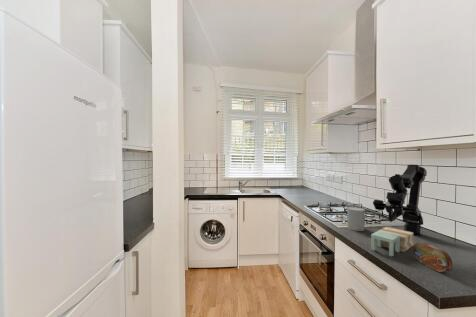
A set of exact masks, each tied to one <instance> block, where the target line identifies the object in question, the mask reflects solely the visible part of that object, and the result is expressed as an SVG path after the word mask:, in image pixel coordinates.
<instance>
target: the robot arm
mask: <svg viewBox="0 0 476 317" xmlns="http://www.w3.org/2000/svg"><path fill="white" fill-rule="evenodd" d="M427 174H428V172H427V169H426V168H425V167H422V166H420V165H419V164H408V165H407V167H406V169H405V170H404V172H403V173H402V174H400V173H395V174H394V175H392V176H390V177H389V178H388V183H389V184H390V187H391V189H392V190H393V191H392V192H390V191H387V193H386V198H385V199H387V202H385V203H384V200H381V199H373V202H372V204H373V207H374V209H375V210H378V211H384V210H385V211H386V212H387V214H388V221H389V222H390V223H392V222H393V221H395V220H396V219H398V218H399V217H402V222H403V223H404V227H403V228H404V229H403V230H404V231H409V232H413V233H414V235H415V236H416V235H417V236H422V235H423V234H422V233H421V226H422V225H424V218H423V215H422V212H421V210H420V207H419V202H420V201H419V200H420V192H421V184H422V183H423V182H424V181H425V179H426V176H427ZM407 189H409V197H408V204H406V206H405V205H404V204H405V202H406V201H405V200H406V197H407V195H408V190H407Z"/></svg>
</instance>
